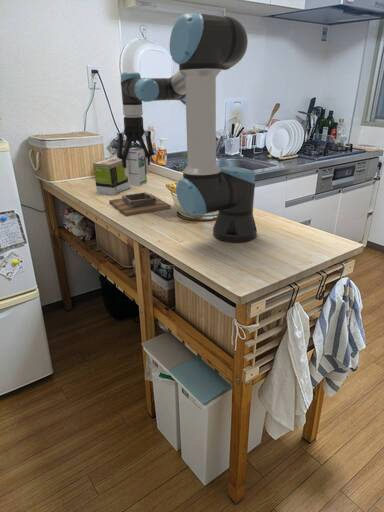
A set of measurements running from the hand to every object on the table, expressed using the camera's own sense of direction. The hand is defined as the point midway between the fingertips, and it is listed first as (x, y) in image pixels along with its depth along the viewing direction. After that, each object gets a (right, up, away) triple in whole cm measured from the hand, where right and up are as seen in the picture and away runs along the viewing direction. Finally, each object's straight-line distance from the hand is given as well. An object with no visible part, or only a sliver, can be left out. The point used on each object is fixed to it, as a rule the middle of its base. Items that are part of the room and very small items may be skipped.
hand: (136, 174), depth 156 cm
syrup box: (0, -4, +2) cm, 4 cm away
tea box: (-16, -2, +29) cm, 33 cm away
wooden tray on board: (0, -12, +6) cm, 14 cm away
